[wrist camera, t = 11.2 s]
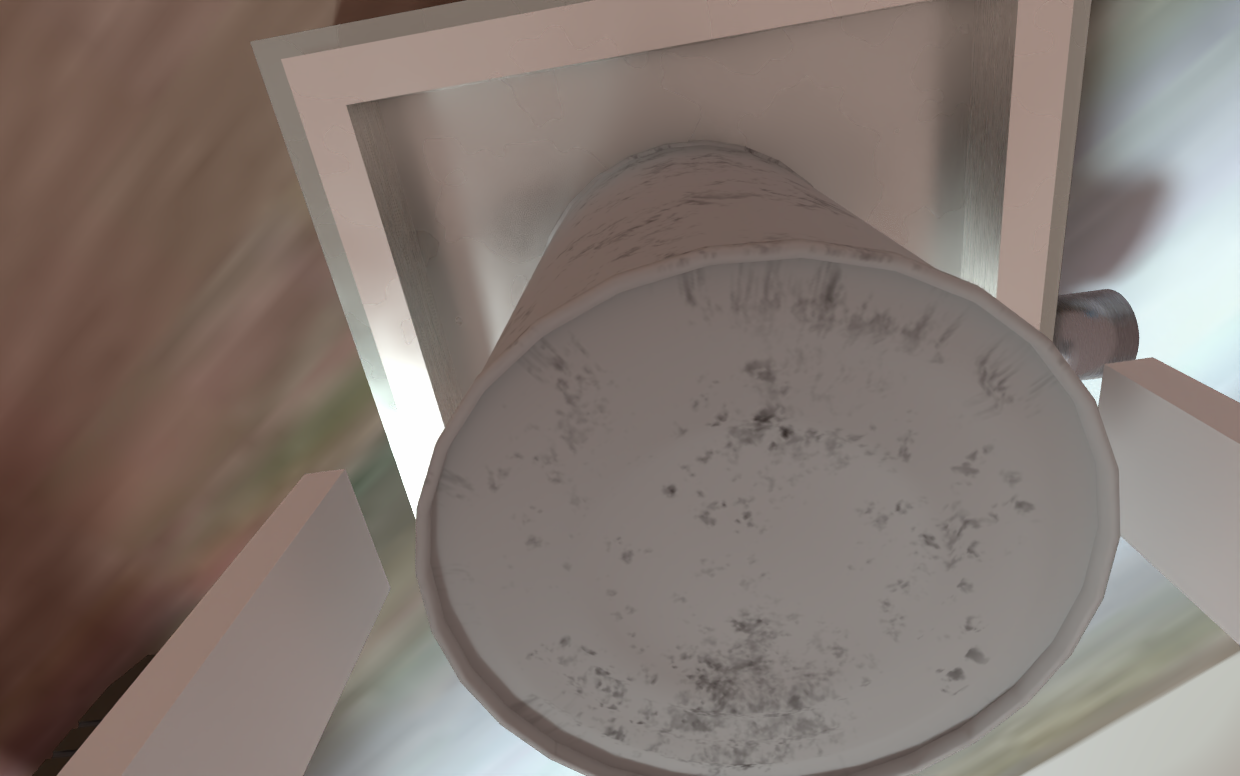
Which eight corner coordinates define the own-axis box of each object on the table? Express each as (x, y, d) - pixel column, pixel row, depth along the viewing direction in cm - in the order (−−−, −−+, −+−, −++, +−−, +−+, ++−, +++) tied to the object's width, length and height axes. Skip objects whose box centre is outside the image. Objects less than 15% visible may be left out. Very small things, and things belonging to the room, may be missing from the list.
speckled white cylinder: (473, 324, 21) (286, 611, 10) (681, 60, 18) (754, 41, 7) (701, 493, 23) (758, 879, 12) (921, 289, 20) (1270, 559, 9)
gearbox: (463, 492, 30) (409, 620, 23) (327, 47, 23) (187, 36, 16) (1046, 419, 28) (1184, 536, 21) (1106, -100, 21) (1351, -189, 14)
